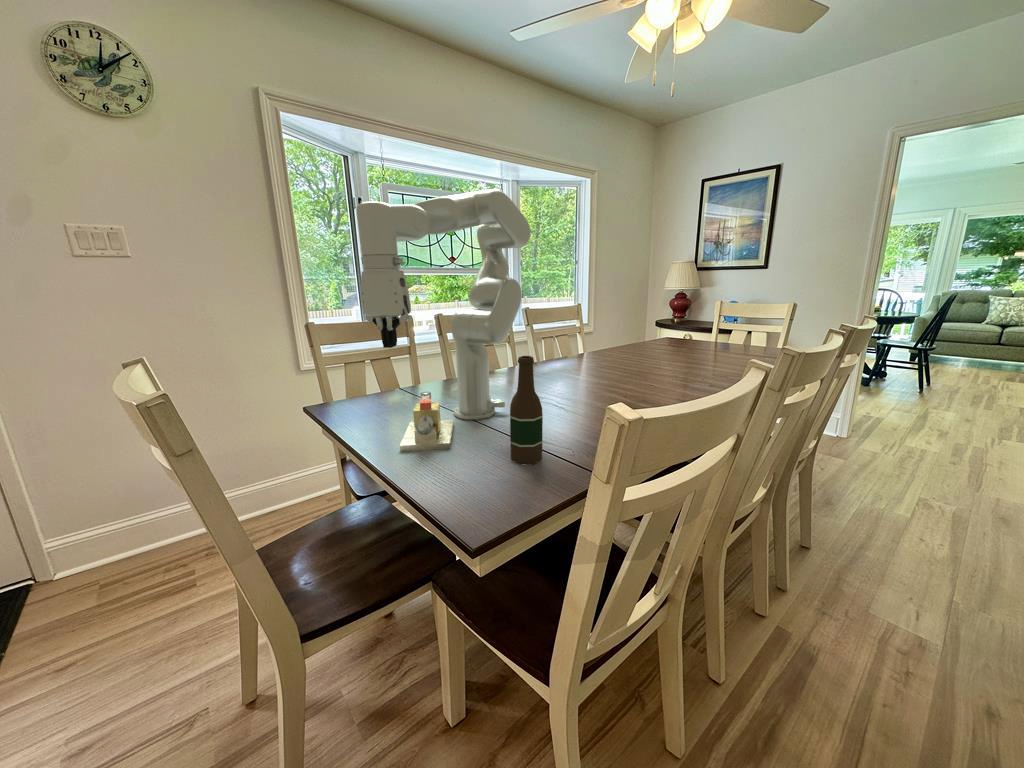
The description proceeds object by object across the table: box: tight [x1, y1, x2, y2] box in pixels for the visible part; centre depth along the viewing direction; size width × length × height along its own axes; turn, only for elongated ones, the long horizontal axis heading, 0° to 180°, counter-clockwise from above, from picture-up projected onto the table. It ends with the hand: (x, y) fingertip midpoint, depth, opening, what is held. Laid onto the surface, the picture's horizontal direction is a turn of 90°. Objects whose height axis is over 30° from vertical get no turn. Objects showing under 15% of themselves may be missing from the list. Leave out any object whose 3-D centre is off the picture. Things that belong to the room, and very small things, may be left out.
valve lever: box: [419, 391, 432, 411], centre depth 98 cm, size 10×3×2 cm, turn 11°
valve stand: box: [399, 401, 454, 452], centre depth 103 cm, size 12×16×10 cm
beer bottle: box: [509, 355, 544, 465], centre depth 89 cm, size 8×8×24 cm
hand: (390, 346), depth 92 cm, fingers closed
